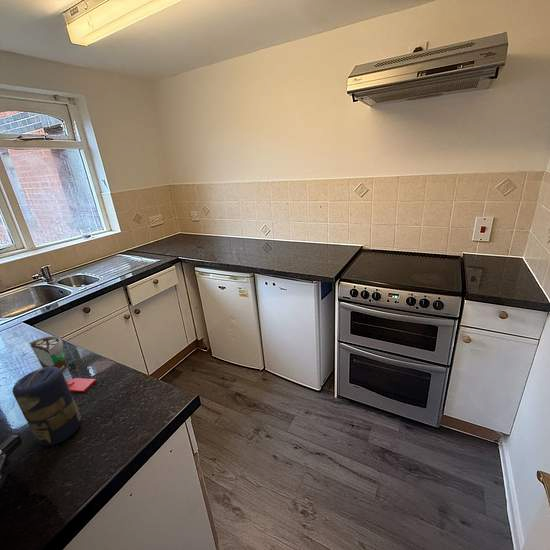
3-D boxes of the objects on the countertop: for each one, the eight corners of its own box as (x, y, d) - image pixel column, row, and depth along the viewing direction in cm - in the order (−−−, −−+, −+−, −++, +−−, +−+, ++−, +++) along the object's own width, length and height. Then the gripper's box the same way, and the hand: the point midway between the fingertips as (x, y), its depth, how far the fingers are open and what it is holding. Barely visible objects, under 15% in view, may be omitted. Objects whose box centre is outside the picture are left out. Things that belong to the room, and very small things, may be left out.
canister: (28, 447, 71) (-4, 388, 65) (60, 415, 80) (34, 360, 73) (63, 450, 70) (33, 389, 63) (92, 417, 79) (68, 361, 72)
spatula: (29, 388, 92) (27, 385, 91) (43, 377, 96) (42, 374, 96) (84, 392, 88) (83, 389, 87) (96, 380, 92) (95, 377, 92)
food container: (79, 364, 101) (69, 339, 98) (60, 376, 96) (48, 350, 93) (59, 356, 107) (48, 332, 103) (40, 367, 102) (28, 342, 98)
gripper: (-101, 537, 52) (1, 447, 67) (-42, 550, 49) (49, 453, 65) (-126, 510, 49) (-14, 422, 65) (-65, 522, 46) (36, 427, 62)
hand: (18, 438), depth 65 cm, fingers closed
